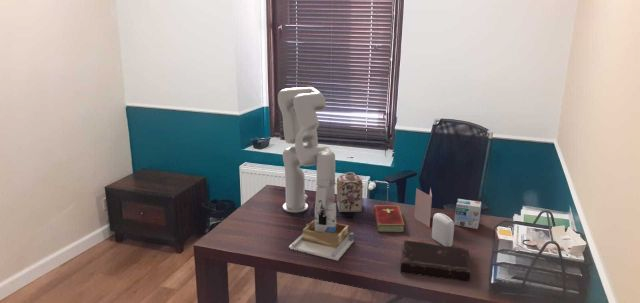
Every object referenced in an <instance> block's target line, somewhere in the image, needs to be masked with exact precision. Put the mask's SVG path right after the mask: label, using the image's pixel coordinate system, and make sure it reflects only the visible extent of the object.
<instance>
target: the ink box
mask: <svg viewBox="0 0 640 303" xmlns="http://www.w3.org/2000/svg"><path fill="white" fill-rule="evenodd" d="M322 209H324V208H323V207H322ZM321 212H323V213H324V210H321ZM325 216H326V225H321V224H319V216H318V213H317V209H316V208H315V207H314V219H315V231H321V232H332V233H335V231H336V223H337V202H334V203H332V204H331V205H330V206H329V207H328V209H327V210H326V215H325Z"/></svg>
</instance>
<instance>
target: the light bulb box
mask: <svg viewBox="0 0 640 303" xmlns="http://www.w3.org/2000/svg"><path fill="white" fill-rule="evenodd" d="M455 204H456V206H455V214H454V221H453V222H454V226H458V227H465V228H470V229H474V230H475V229H476V230H478V228H479V226H480V218H481V209H482V201H478V200H470V199H463V198H457V202H456V203H455Z"/></svg>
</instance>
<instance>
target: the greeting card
mask: <svg viewBox="0 0 640 303" xmlns="http://www.w3.org/2000/svg"><path fill="white" fill-rule="evenodd" d="M429 189H430V190H429V194H428V193H426V192H424V191H422V190H420V189H419V188H417V187H416V190H415V201H414V202H415V203H414V215H413V216H414V217H413V218H414V219H415V220H417V221H419V222H421V223H422V224H424V225H425V226H427V227H428V228H430V227H431V226H430V225H431V215H432V214H431V212H432V204H433V201H434V196H433V192H432V189H431V187H430V188H429Z"/></svg>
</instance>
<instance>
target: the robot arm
mask: <svg viewBox="0 0 640 303" xmlns="http://www.w3.org/2000/svg"><path fill="white" fill-rule="evenodd" d="M277 104H278V107H279V109H280V113H281V116H282V125H283V135H284V136H283V137H284V140H285V143H287V144H288V145H294V146H289V147H286V148H284V150H283V151H282V160H283V166H284V177H285V178H284V180H285V181H284V182H285V188H284V189H285V203H283V205H282V209H283V210H284V211H285V212H287V213H295V214H296V213H302V212H305V211H307V210H308V209H309V204H308V203H307V202H306V200H307V199H308V196H309V195H307V194H306V191H305V190H306V185H305V184H306V181H305V179H306V178H305V176H306V175H305V172H304V171H303V169H302V168H300V167H302V166H303V167H311V166H316V189H315V190H316V191H315V203H314V204H315V206H314V209H315V208H316V209H317V213H318V216H319V224H321V225H326V216H325V215H326V210H327V209H328V207H329V206H330V205H331V204H332V203H335V202H336V200H335V199H336V198H335V197H336V194H335V192H336V190H335V185H336V154H335V153H334V152H333V151H332V150H331V149H330V147H329V146H327V145H326V146H325V145H319V141H318V130H317V129H318V128H319V126H320V121H319V118H318V116H317V112H322V111H324V110H325V109H326V105H327V103H326V99H325V96H324V95H323V93H322V92H320V90H317V89H316V88H315V87H313V86H306V87H305V86H304V87H291V88H290V87H289V88H288V87H287V88H283V89H281V90H280V91H278V93H277ZM304 143H306V145H304ZM322 207H323V208H324V209H322ZM321 210H324V213H323V212H321Z"/></svg>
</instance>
